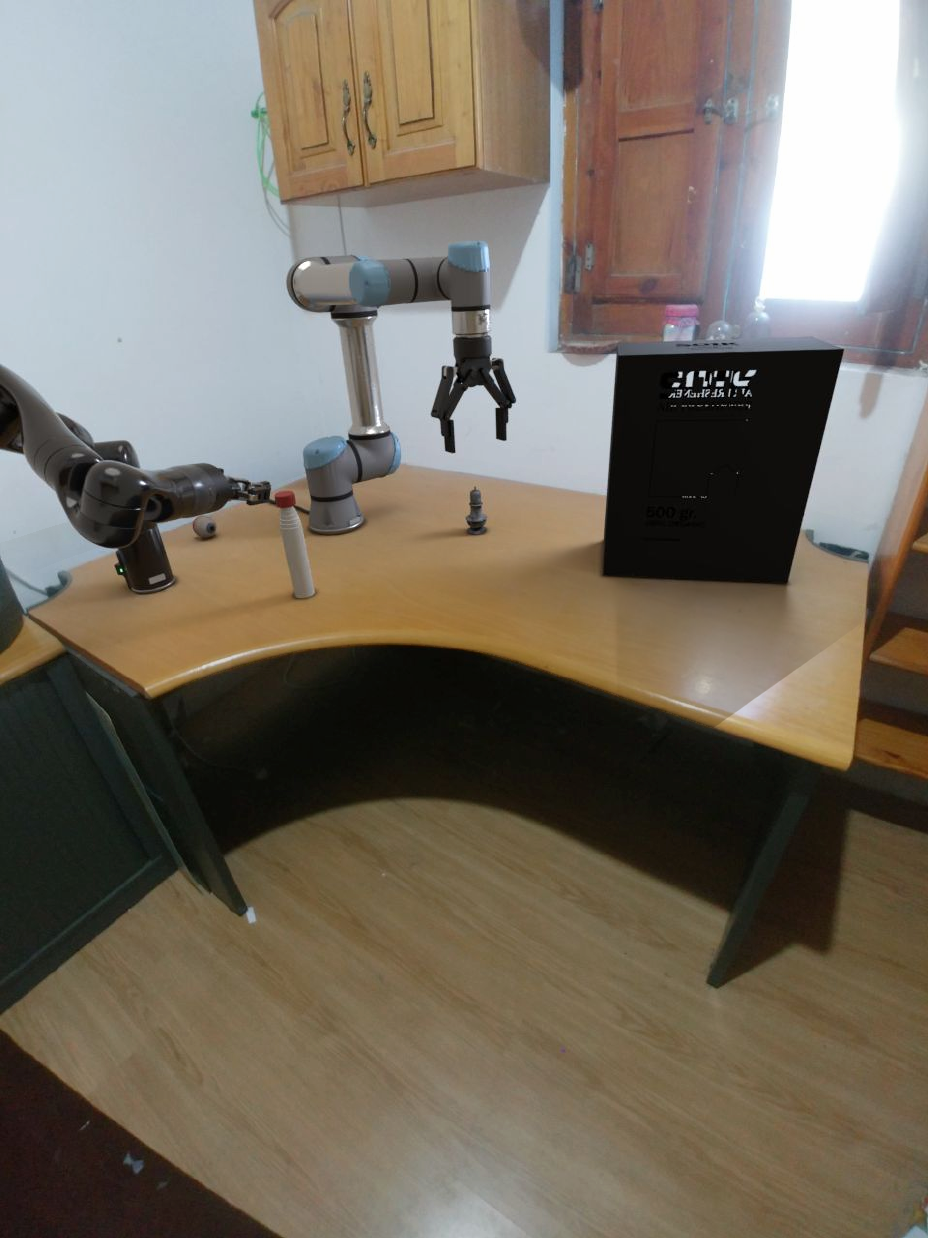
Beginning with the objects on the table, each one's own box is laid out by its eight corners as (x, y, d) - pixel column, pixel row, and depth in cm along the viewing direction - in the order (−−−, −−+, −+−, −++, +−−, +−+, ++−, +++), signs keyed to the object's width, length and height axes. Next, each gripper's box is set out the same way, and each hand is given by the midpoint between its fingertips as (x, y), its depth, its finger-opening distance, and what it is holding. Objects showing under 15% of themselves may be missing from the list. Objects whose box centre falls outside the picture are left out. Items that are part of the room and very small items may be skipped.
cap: (287, 509, 121) (285, 497, 120) (272, 507, 123) (270, 495, 121) (300, 502, 124) (298, 491, 123) (285, 500, 126) (282, 489, 124)
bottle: (306, 599, 131) (285, 500, 120) (290, 596, 133) (268, 497, 121) (319, 591, 134) (300, 493, 123) (303, 587, 136) (283, 491, 125)
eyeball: (206, 542, 163) (200, 521, 160) (191, 538, 166) (185, 518, 163) (224, 534, 167) (218, 514, 164) (209, 531, 170) (203, 510, 167)
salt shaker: (485, 534, 157) (484, 490, 151) (463, 534, 158) (461, 489, 152) (489, 526, 162) (488, 482, 156) (468, 525, 163) (466, 482, 157)
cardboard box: (766, 545, 143) (811, 336, 120) (787, 583, 126) (844, 348, 103) (603, 539, 150) (617, 342, 128) (602, 575, 133) (618, 355, 111)
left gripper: (144, 502, 91) (204, 491, 106) (232, 527, 90) (280, 512, 106) (148, 452, 89) (208, 448, 104) (238, 478, 88) (286, 470, 103)
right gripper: (429, 342, 108) (437, 460, 118) (533, 329, 120) (532, 437, 131) (407, 340, 113) (417, 454, 124) (508, 328, 125) (510, 432, 136)
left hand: (244, 480), depth 105 cm, fingers open, 8 cm apart
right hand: (476, 445), depth 127 cm, fingers open, 13 cm apart
